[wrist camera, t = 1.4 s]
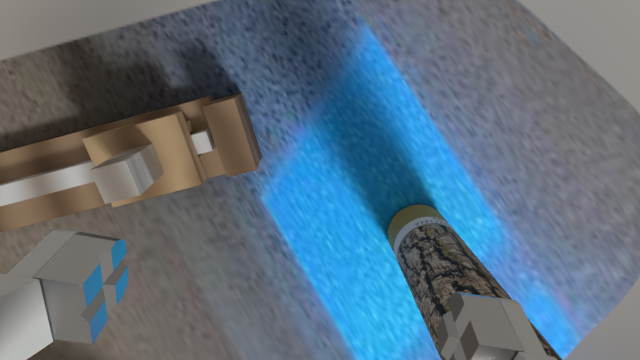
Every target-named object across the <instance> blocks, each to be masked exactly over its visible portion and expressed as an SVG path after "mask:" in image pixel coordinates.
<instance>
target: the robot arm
mask: <svg viewBox="0 0 640 360" xmlns="http://www.w3.org/2000/svg"><path fill="white" fill-rule="evenodd" d="M125 254H126V246H125V241H123V240H122V239H118V238H112V237H107V236H101V235H96V234H90V233H84V232H76V231H71V230H66V229H60V228H59V229H56V230H53V231H51V232H50V233H49V234H48V235H47V236H46V237H45V238H44V239H43V240H42V241H41V242H40V243H39V244H38V245H37V246H36V247H34V248H33V249H32V250H31V251H30V252H29V253H28V254H27V255H26V256H25V257H24V258H23V259H22V260H21V261H20V262H19V263H18V264H17V265H16V266H15V267H13V268H12V269H11V270H10V271H9V272H8V273H7V274H1V273H0V360H27V359H28V358H30V357H31V356H33V355H34V354H36V353H37V352H39V351H40V350H42V349H43V348H45V347H46V346H47V345H49V344H50V343H52V342H53V339H54V340H63V341H71V342H80V343H88V344H93V342H94V341H95V339H96V338H97V336H98V335H99V333H100V331H101V330H102V328H103V327H104V325H105V324H106V322H107V311H108V310H110V309H111V308H113V307H115V306H117V305H118V303H119V301H120V300H121V298H122V296H123V294H124V291H125V288H126V285H127V280H128V267H127V265H126V264H125V263H124V262H123V261H122V258H123V257H124V255H125ZM449 306H450V309H451V311H449V312H447V313H446V314H444V315H443V316H442V318H441V321H440V323H439V328H438V346H439V350H440V354H441V355H442V356H443V357H444V358H445V359H446V360H557V359H555V358H554V357H551V356H547V354H546V352H545V351H544V349H543V347H542V345H541V343H540V341H539V339H538V337H537V335H536V334H535V332H534V330H533V328H532V326H531V324H530V322H529V320H528V318H527V317H526V315H525V313H524V311H523V309H522V307H521V305H520V304H519V303H518V302H517V301H516V300H511V299H504V298H497V297H495V298H493V297H488V296H481V295H474V294H468V293H461V292H455V293H454V294H453V295H452V296H451V299H450V301H449Z"/></svg>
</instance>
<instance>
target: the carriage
mask: <svg viewBox="0 0 640 360" xmlns="http://www.w3.org/2000/svg"><path fill="white" fill-rule="evenodd" d="M191 131H193V127H192V125H191V122H190V121H185V118H184V116H183V113H182V111H179V112H176V113H172V114H168V115H164V116H161V117H157V118H153V119H149V120H146V121H142V122H138V123H135V124H131V125H127V126H123V127H120V128H116V129H112V130H108V131H105V132H101V133H97V134H93V135H91V136H88V137H86V138H84V139H82V140H83V143H84V145H85V147H86V149H87V151H88V153H89V156H90V158H91V160H92V162H93V164H94V168H92V169H91V170H90V172H91V174H92V177H93V179H94V181H95V183H96V185H97V187H98V190H99V192H100V194H101V196H102V198H103V200H104V203H105V204H108V203H111V204H112V206H113V207H117V206H121V205H125V204H128V203H132V202H136V201H140V200H144V199H148V198H152V197H155V196H159V195H163V194H167V193H171V192H175V191H178V190H182V189H186V188H190V187H194V186H198V185H202V183H203V182H204V181H205V179H206V176H205V173H204V170H203V166H204V164H205V160H204V158H203V155H202V154H201V155H198V154H197V151H196V148H195V146H194V143H193V140H192V137H191V135H190V132H191Z"/></svg>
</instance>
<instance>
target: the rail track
mask: <svg viewBox="0 0 640 360" xmlns="http://www.w3.org/2000/svg"><path fill="white" fill-rule="evenodd" d="M179 111H182V113H183V116H184V118H185V121H190V122H191V125H192V127H193V131H191V132H190V135H191V137H192V140H193V143H194V146H195V148H196V151H197V154H198V155H201V154H202V155H203V158H204V160H205V164H204V166H203V170H204V173H205V176H206V179H208V178H211V177H215V176H219V175H223V174H226V176H227V177H230V176H234V175H238V174H242V173H246V172H250V171H253V170H257V168H258V165H259V162H260V160H261V157H262V156H261V152H260V149H259V146H258V143H257V140H256V136H255V133H254V130H253V127H252V124H251V120H250V117H249V114H248V111H247V108H246V105H245V101H244V98H243V95H242V93H238V94H234V95H231V96H227V97H223V98H219V99H216V100H214V99H213V96H212V95H211V96H207V97H204V98H200V99H196V100H192V101H189V102H185V103H181V104H178V105H174V106H170V107H166V108H163V109H159V110H155V111H151V112H148V113H144V114H140V115H137V116H133V117H129V118H125V119H122V120H118V121H114V122H110V123H107V124H103V125H99V126H96V127H92V128H88V129H84V130H81V131H77V132H73V133H69V134H66V135H62V136H58V137H55V138H51V139H47V140H43V141H40V142H36V143H32V144H28V145H25V146H21V147H17V148H14V149H10V150H6V151H2V152H0V232H4V231H8V230H11V229H15V228H19V227H23V226H27V225H31V224H35V223H38V222H42V221H46V220H50V219H54V218H58V217H61V216H65V215H69V214H73V213H77V212H81V211H85V210H88V209H92V208H96V207H100V206H104V205H108V204H111V203H108V204H105V203H104V200H103V198H102V196H101V194H100V192H99V190H98V187H97V185H96V183H95V181H94V179H93V177H92V174H91V172H90V170H91V169H92V168H94V164H93V162H92V160H91V158H90V156H89V153H88V151H87V149H86V147H85V145H84V143H83V140H82V139H84V138H86V137H88V136H91V135H93V134H97V133H101V132H105V131H108V130H112V129H116V128H120V127H123V126H127V125H131V124H135V123H138V122H142V121H146V120H149V119H153V118H157V117H161V116H164V115H168V114H172V113H176V112H179Z"/></svg>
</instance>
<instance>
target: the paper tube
mask: <svg viewBox="0 0 640 360" xmlns="http://www.w3.org/2000/svg"><path fill="white" fill-rule="evenodd" d="M388 240H389V243H390V245H391V247H392V250H393V252H394V254H395V257H396V259H397V261H398V264H399V266H400V268H401V270H402V273H403V275H404V277H405V279H406V282H407V284H408V286H409V288H410V291H411V293H412V295H413V297H414V299H415V302H416V304H417V306H418V308H419V311H420V313H421V315H422V317H423V320H424V322H425V324H426V326H427V329H428V331H429V333H430V335H431V338H432V340H433V342H434V344H435V347H436V349H437V351H438V353H439V356H440V358H441V360H446V359H445V358H444V357H443V356H442V355H441V354H440V350H439V346H438V328H439V323H440V321H441V318H442V316H443V315H444V314H446V313H447V312H449V311H451V309H450V306H449V301H450V299H451V296H452V295H453V294H454V293H455V292H461V293H468V294H474V295H481V296H488V297H493V298H495V297H497V298H504V299H511V298H510V296H509V295H508V294H507V293H506V292H505V290H504V289H503V288H502V287H501V286H500V284H499V283H498V282H497V281H496V280H495V278H494V277H493V276H492V275H491V274H490V272H489V271H488V270H487V269H486V268H485V266H484V265H483V264H482V263H481V262H480V260H479V259H478V258H477V257H476V256H475V254H474V253H473V252H472V251H471V250H470V248H469V247H468V246H467V245H466V244H465V242H464V241H463V240H462V239H461V238H460V236H459V235H458V234H457V233H456V232H455V230H454V229H453V228H452V227H451V226H450V225H449V224H448V222H447V221H446V220H445V219H444V217H443V216H442V215H441V214H440V213H439V212H438V211H437V210H435V209H434V208H432V207H430V206H427V205H421V204H417V205H411V206H408V207H405V208H403V209H402V210H400V211H399V212H398V213H397V214H396V215H395V216H394V217H393V218H392V220H391V222H390V224H389V227H388ZM511 300H512V299H511ZM528 320H529V319H528ZM529 322H530V320H529ZM530 324H531V326H532V328H533V330H534V332H535V334H536V335H537V337H538V339H539V341H540V343H541V345H542V347H543V349H544V351H545V352H546V354H547V356H551V357H554V358H555V359H557V360H562V359H561V358H560V356H559V355H558V354H557V353H556V352H555V350H554V349H553V348H552V347H551V346H550V344H549V343H548V342H547V341H546V340H545V338H544V337H543V336H542V335H541V334H540V332H539V331H538V330H537V329H536V328H535V326H534V325H533V324H532V323H531V322H530Z"/></svg>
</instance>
